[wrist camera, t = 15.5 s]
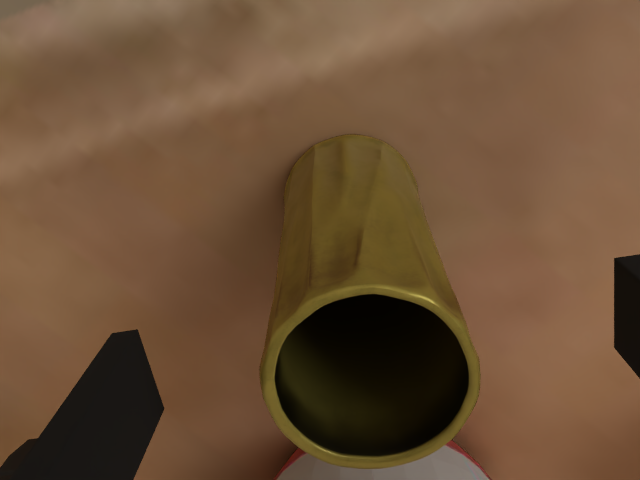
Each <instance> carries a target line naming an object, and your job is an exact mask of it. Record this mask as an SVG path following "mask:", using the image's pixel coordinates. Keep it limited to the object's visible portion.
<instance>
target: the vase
mask: <svg viewBox="0 0 640 480" xmlns="http://www.w3.org/2000/svg"><path fill="white" fill-rule="evenodd" d="M284 205H285V212H284V224H283V230H282V236H281V242H280V250H279V258H278V270H277V278H276V285H275V293H274V299H273V303H272V307H271V312H270V317H269V323H268V329H267V335H266V340H265V346H264V351H263V355H262V358H261V364H260V384H261V389H262V394H263V399H264V401H265V403H266V405H267V408H268V410H269V412H270V414H271V416H272V418H273V420H274V421H275V423H276V425H277V426H278V428H279V429H280V430H281V431H282V432H283V434H284V435H285V436H286V437H287V438H288V439H289V440H290V441H292V442H293V443H294V444H295V445H296V446H298V447H299V448H300V449H301V450H303V451H304V452H306V453H308V454H310V455H311V456H313V457H315V458H317V459H319V460H321V461H323V462H326V463H328V464H332V465H336V466H340V467H347V468H357V469H382V468H389V467H394V466H399V465H403V464H407V463H410V462H413V461H416V460H419V459H422V458H424V457H426V456H428V455H430V454H432V453H434V452H435V451H437V450H438V449H440V448H441V447H443V446H444V445H445V444H447V443H448V442H449V441H450V440H452V439H453V438H454V436H455V435H456V434H457V433H458V432H459V431H460V429H461V428H462V427H463V425H464V423H465V422H466V420H467V419H468V417H469V416H470V414H471V412H472V410H473V408H474V406H475V404H476V402H477V399H478V396H479V390H480V364H479V357H478V355H477V352H476V350H475V348H474V346H473V344H472V341H471V338H470V336H469V332H468V328H467V325H466V321H465V319H464V317H463V314H462V312H461V309H460V306H459V304H458V301H457V298H456V296H455V294H454V292H453V289H452V287H451V285H450V283H449V280H448V278H447V275H446V273H445V270H444V267H443V264H442V261H441V259H440V256H439V254H438V251H437V248H436V245H435V242H434V239H433V237H432V234H431V232H430V229H429V226H428V224H427V221H426V218H425V214H424V211H423V208H422V205H421V202H420V199H419V197H418V188H417V184H416V181H415V178H414V176H413V173H412V171H411V169H410V167H409V165H408V163H407V162H406V160H405V159H404V158H403V157H402V155H400V154H399V153H398V152H397V151H396V150H395V149H394V148H392V147H391V146H390V145H388V144H386V143H385V142H383V141H381V140H378V139H376V138H373V137H368V136H364V135H355V134H350V135H341V136H337V137H334V138H331V139H328V140H325V141H322V142H320V143H318V144H316V145H314V146H313V147H311V148H310V149H309V150H308V151H307V152H306V153H305V154H303V156H302V157H301V158H300V159H299V160H298V161H297V162H296V163H295V165H294V166H293V168H292V170H291V172H290V175H289V177H288V180H287V183H286V187H285V192H284Z"/></svg>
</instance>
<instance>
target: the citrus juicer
mask: <svg viewBox="0 0 640 480" xmlns="http://www.w3.org/2000/svg"><path fill="white" fill-rule="evenodd" d="M273 480H491V478H490V477H489V476H488V475H487V473H486V472H485V471H484V469H483V468H482V467H481V466H480V465H479V464H478V463H477V462H476V461H475V460H474V459H473V458H472V457H471V456H470V455H468V454H467V453H466V452H465V451H464V450H463V449H462V448H460V447H459V446H458V445H457V444H456V443H454V442H453V441H452V440H450V441H449V442H448V443H447V444H445V445H444V446H443V447H441V448H440V449H438V450H437V451H435V452H434V453H432V454H430V455H428V456H426V457H424V458H422V459H419V460H416V461H413V462H410V463H407V464H403V465H399V466H394V467H389V468H382V469H357V468H347V467H340V466H336V465H332V464H328V463H326V462H323V461H321V460H319V459H317V458H315V457H313V456H311V455H310V454H308V453H306V452H304V451H303V450H301V449H300V448H298V449H297V450H296V451H295V452H294V453H293V455H292V456H291V457H290V458H289V460H288V461H287V462H286V463H285V465H284V466H283V467H282V469H281V470H280V471H279V472H278V474H277V475H276V477H275V478H274V479H273Z"/></svg>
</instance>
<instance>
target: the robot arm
mask: <svg viewBox="0 0 640 480" xmlns="http://www.w3.org/2000/svg"><path fill="white" fill-rule="evenodd" d="M614 348H615V349H616V350H617V351H618V353H619V354H620V355H621V356H622V358H623V359H624V360H625V361H626V362H627V364H628V365H629V366H630V367H631V368H632V370H633V371H634V372H635V373H636V375H637V376H638V377H639V378H640V254H639V255H632V256H626V257H619V258H614ZM163 411H164V406H163V403H162V400H161V397H160V395H159V392H158V389H157V386H156V383H155V380H154V377H153V374H152V371H151V368H150V365H149V362H148V359H147V356H146V353H145V350H144V347H143V344H142V341H141V338H140V335H139V332H138V330H131V331H124V332H117V333H112V334H111V335H110V337H109V338H108V340H107V341H106V342H105V344H104V345H103V347H102V348H101V350H100V351H99V352H98V354H97V355H96V357H95V358H94V360H93V361H92V362H91V364H90V365H89V367H88V368H87V369H86V371H85V372H84V374H83V375H82V377H81V378H80V379H79V381H78V382H77V384H76V385H75V387H74V388H73V389H72V391H71V392H70V394H69V395H68V397H67V398H66V399H65V401H64V402H63V404H62V405H61V406H60V408H59V409H58V411H57V412H56V414H55V415H54V416H53V418H52V419H51V421H50V422H49V424H48V425H47V426H46V428H45V429H44V431H43V432H42V433H41V435H40V436H39V438H37V439H29V440H27V441H26V442H25V443H24V444H23V445H21V446H20V447H19V448H18V449H17V450H15V451H14V452H13V453H12V454H11V455H10V456H9V457H8V458H7V459H6V461H5V462H4V463H3V465H2V466H1V467H0V480H133V479H134V477H135V475H136V472H137V470H138V468H139V465H140V463H141V461H142V459H143V456H144V454H145V452H146V449H147V447H148V445H149V443H150V440H151V438H152V436H153V433H154V431H155V429H156V427H157V424H158V422H159V420H160V417H161V415H162V413H163Z"/></svg>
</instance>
